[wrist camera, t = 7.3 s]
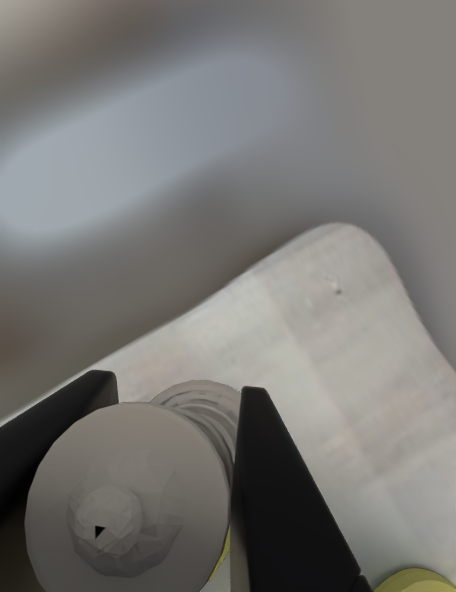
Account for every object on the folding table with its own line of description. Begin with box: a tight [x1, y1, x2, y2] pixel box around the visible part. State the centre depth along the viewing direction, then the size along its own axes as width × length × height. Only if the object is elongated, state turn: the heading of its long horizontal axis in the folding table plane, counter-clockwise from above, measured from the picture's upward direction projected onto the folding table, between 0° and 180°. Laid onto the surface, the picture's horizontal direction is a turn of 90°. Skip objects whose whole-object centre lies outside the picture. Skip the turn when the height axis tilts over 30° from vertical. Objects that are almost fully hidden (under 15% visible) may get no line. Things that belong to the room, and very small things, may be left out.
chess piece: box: [24, 381, 241, 592], centre depth 8 cm, size 4×4×10 cm
